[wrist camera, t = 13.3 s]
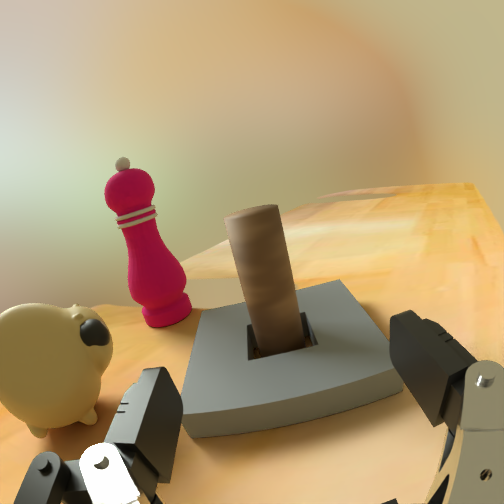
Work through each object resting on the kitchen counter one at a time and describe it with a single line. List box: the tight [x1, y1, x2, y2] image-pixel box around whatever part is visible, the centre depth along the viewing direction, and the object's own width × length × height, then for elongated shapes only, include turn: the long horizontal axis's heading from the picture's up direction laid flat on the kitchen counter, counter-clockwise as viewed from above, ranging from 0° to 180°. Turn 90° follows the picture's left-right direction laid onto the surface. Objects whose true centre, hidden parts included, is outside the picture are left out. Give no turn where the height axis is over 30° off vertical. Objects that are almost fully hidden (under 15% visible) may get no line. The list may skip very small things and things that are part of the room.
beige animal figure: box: [0, 303, 113, 438], centre depth 17 cm, size 10×12×11 cm
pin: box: [224, 205, 306, 358], centre depth 20 cm, size 4×4×12 cm
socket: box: [181, 279, 404, 438], centre depth 22 cm, size 14×14×2 cm
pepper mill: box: [104, 157, 192, 327], centre depth 32 cm, size 7×7×20 cm
